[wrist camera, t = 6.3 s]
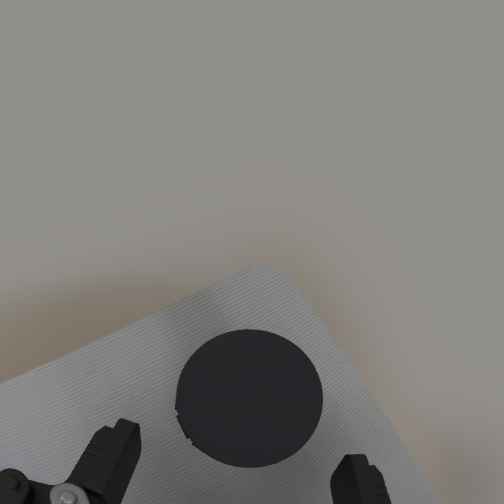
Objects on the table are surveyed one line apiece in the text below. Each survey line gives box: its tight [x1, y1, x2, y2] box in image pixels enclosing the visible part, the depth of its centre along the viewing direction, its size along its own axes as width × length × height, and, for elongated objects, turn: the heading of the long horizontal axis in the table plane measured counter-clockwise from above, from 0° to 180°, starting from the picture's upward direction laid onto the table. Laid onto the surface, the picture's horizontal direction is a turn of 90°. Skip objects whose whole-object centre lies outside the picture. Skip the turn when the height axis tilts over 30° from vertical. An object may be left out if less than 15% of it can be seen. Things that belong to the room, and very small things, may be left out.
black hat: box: [175, 329, 323, 468], centre depth 14 cm, size 8×8×9 cm
